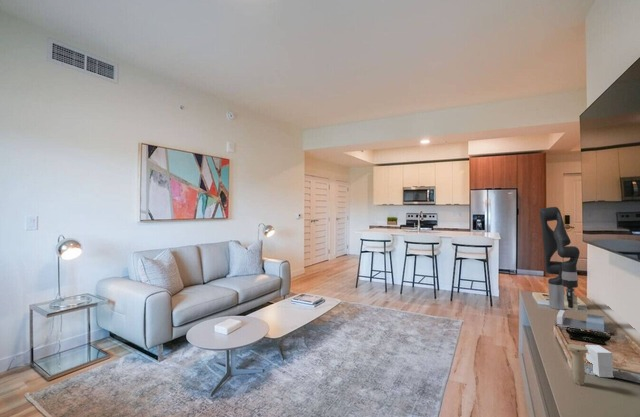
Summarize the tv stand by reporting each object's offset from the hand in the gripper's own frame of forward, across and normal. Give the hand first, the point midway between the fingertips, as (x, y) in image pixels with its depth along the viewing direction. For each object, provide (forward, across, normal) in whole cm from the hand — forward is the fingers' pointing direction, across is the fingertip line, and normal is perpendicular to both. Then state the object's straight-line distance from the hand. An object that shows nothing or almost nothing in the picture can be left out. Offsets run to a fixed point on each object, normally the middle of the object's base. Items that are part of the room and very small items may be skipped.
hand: (571, 306), depth 185 cm
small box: (+12, +61, +14) cm, 63 cm away
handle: (+12, +77, +8) cm, 78 cm away
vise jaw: (+9, 0, +11) cm, 14 cm away
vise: (+11, 0, +5) cm, 12 cm away
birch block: (+1, 0, 0) cm, 1 cm away
